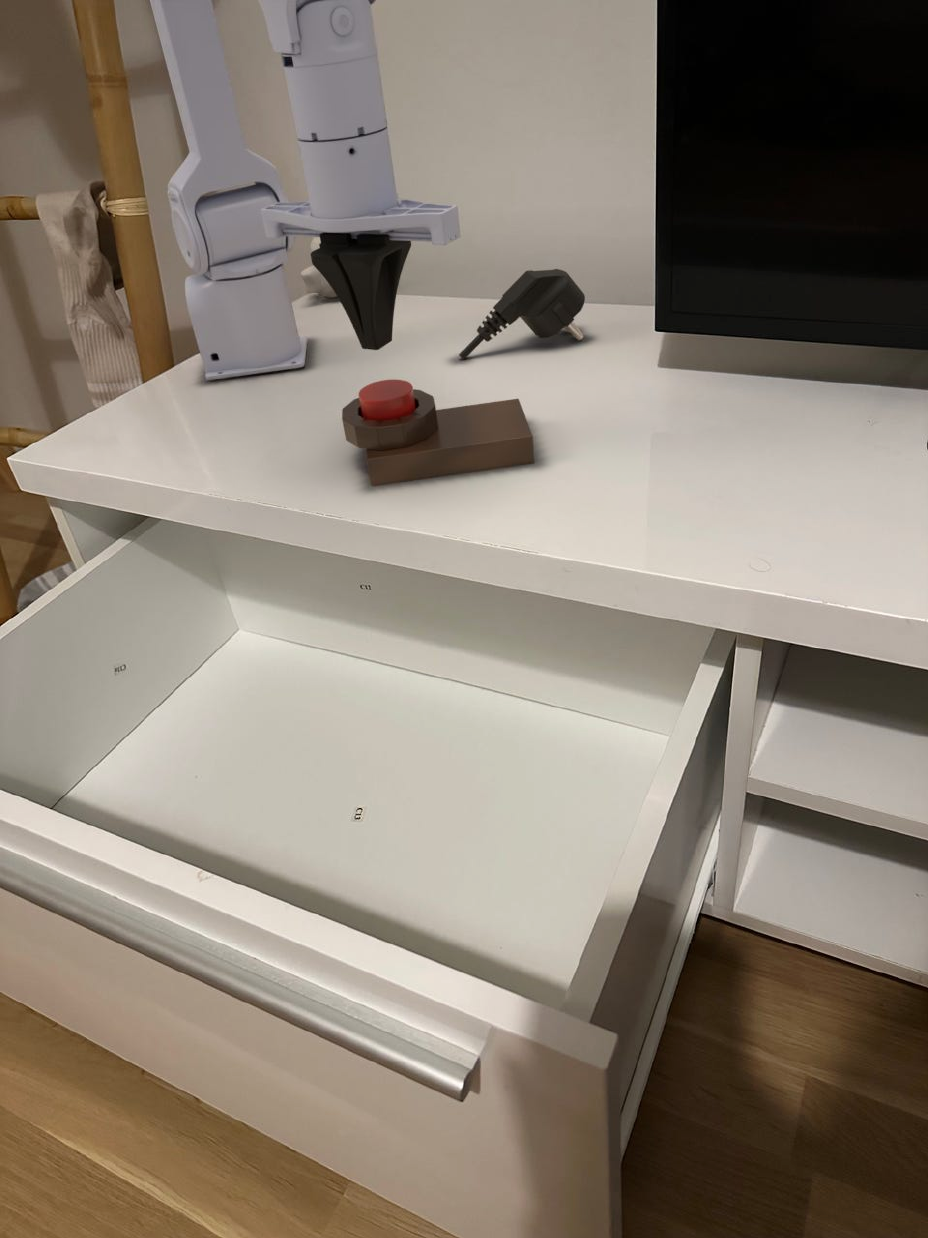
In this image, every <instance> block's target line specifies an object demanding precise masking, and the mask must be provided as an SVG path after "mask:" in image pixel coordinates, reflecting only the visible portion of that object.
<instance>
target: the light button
mask: <svg viewBox="0 0 928 1238" xmlns="http://www.w3.org/2000/svg"><path fill="white" fill-rule="evenodd" d="M413 389H414V387H413V385H412V384H411V382H409V381H407V380H402V379H383V380H378V381H375V382H372V383H369V384H367V385H365V386H363V387H362V388H360V390H359V392H358V398H359V400H360V405H361V411H362V416H363V418H364V419H366V420H375V421H385V420H392V419H398V418H400V417H403V416H406V415H408V414H411V413H412V412H413V411H415V409H416V406H415V400H414V393H413Z"/></svg>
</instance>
